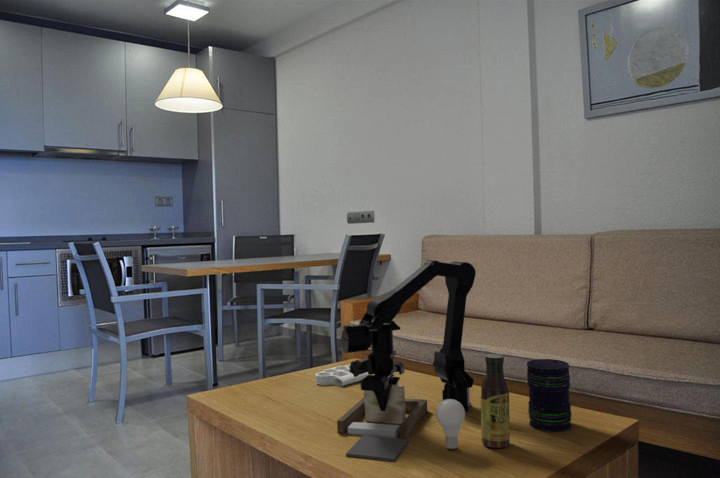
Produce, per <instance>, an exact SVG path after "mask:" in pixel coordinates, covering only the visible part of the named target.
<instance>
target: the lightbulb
mask: <svg viewBox="0 0 720 478" xmlns="http://www.w3.org/2000/svg"><path fill="white" fill-rule="evenodd" d="M435 416H436V419H437V421H438V423H439V425H440V426H441V428H442V431H443V434H444V435H445V447H446V448H447V449H449V450H455V449H457V448H458V447H459V440H458V438H459V437H458V436H459V433H460V429H461V426H462V425H463V423H464V421H465V418H466V411H465V410H464V408H463V406H462V404H461V403H460V402H458V401H457V400H454V399H446V400H443V399H442V401H440V403H439V404H438V405H437V408H436V410H435Z"/></svg>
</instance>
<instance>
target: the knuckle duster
mask: <svg viewBox="0 0 720 478" xmlns="http://www.w3.org/2000/svg"><path fill="white" fill-rule="evenodd" d="M350 365H351V363H350V364H347V365H346V364H345V365H338V366H334V367H332V368H326V369H323V370H322V371H320V372H316V373H315V375H314V376H315V378H314V379H315V384H316V385H317V384H319V385H318V386H330V385H331V386H333V385H334V386H337V387H339V386H340V387H344V386H347V385H351V384H355V383H359V382H361V381H362V380H363V379H364V378H365V377H366V376H367V375H370V374H368V372H366V373H363V374H360V375H358V376H357V377H354V375H353V374H352V373H350V372H349V370H350V367H349V366H350Z"/></svg>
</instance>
